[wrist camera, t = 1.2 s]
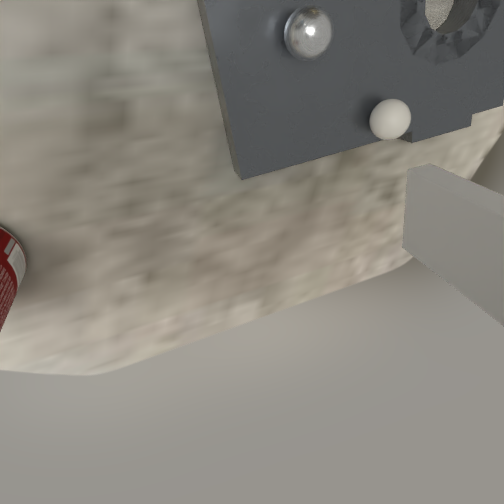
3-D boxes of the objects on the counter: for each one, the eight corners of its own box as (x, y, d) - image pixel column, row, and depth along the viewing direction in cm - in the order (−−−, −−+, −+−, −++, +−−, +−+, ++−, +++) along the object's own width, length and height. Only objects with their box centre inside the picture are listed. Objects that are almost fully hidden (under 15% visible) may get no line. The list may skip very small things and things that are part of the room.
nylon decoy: (361, 101, 30) (383, 107, 27) (396, 92, 30) (420, 97, 28) (362, 139, 31) (383, 148, 29) (395, 130, 32) (418, 138, 29)
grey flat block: (236, 181, 33) (244, 191, 31) (166, -140, 22) (170, -158, 20) (479, 112, 36) (500, 117, 34) (518, -195, 26) (553, -215, 24)
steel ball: (273, 11, 25) (291, 8, 23) (318, 1, 26) (341, -3, 23) (280, 64, 27) (298, 67, 24) (322, 54, 27) (344, 56, 25)
